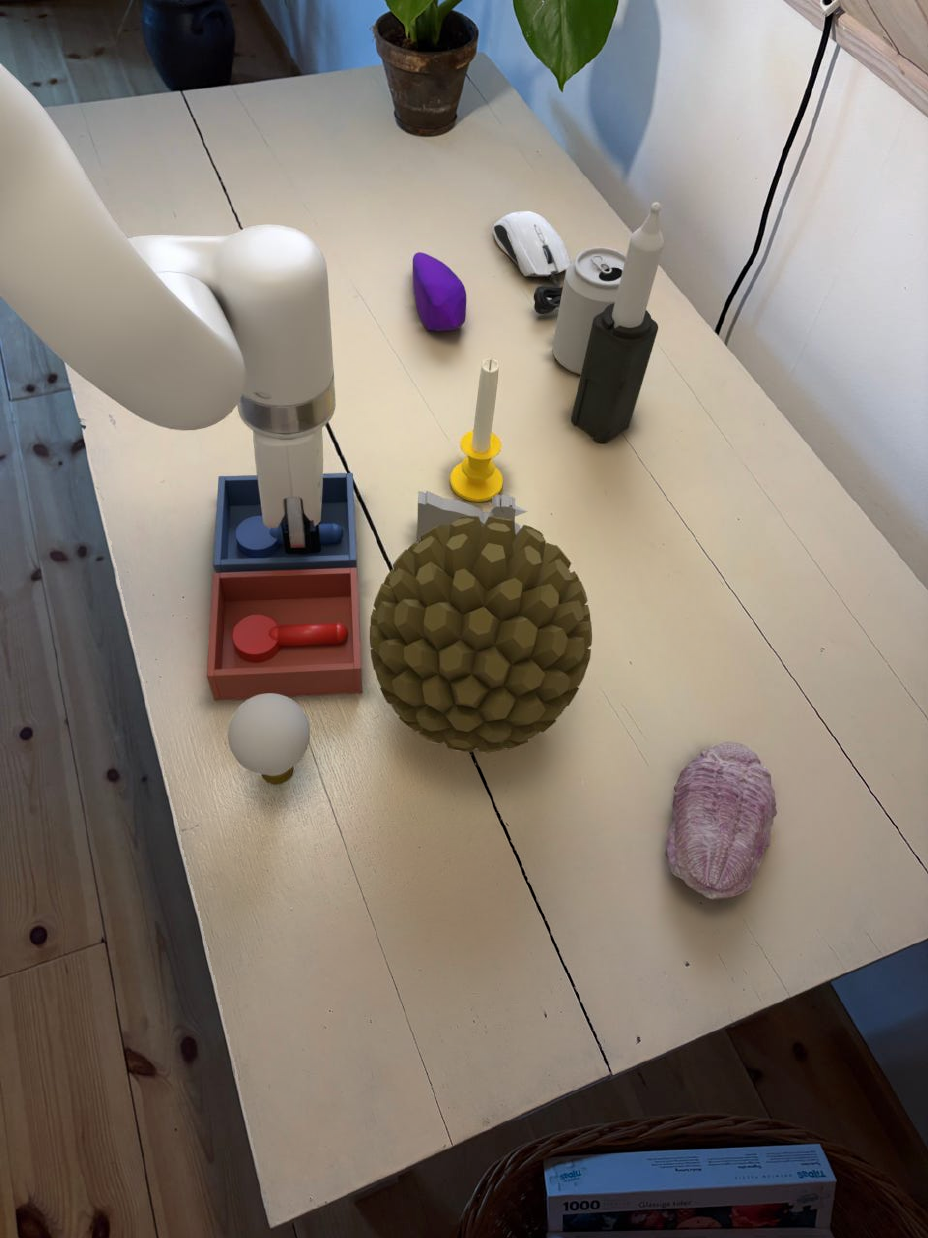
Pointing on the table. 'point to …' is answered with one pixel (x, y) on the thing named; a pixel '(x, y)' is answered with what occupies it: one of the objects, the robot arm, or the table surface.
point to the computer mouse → (534, 253)
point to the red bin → (287, 604)
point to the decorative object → (480, 635)
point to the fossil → (721, 820)
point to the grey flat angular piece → (460, 511)
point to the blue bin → (243, 501)
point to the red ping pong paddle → (280, 636)
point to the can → (585, 301)
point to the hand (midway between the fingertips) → (303, 539)
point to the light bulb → (269, 736)
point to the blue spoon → (274, 537)
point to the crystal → (438, 294)
